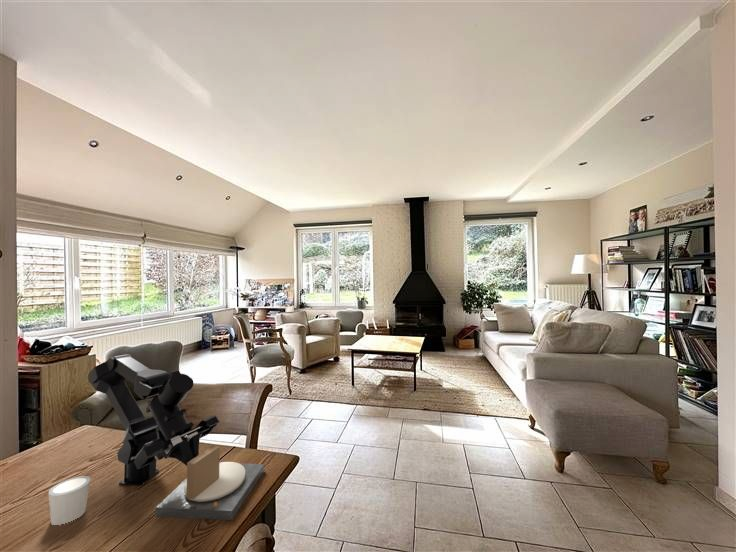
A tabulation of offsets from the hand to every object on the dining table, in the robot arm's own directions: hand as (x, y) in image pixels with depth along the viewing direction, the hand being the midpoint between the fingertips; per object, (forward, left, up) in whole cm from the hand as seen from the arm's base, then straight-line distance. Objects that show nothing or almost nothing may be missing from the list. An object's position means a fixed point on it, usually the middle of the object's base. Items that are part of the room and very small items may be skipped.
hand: (196, 469), depth 73 cm
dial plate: (+2, +5, -8) cm, 10 cm away
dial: (+2, +4, -6) cm, 8 cm away
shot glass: (-27, -5, -8) cm, 28 cm away
